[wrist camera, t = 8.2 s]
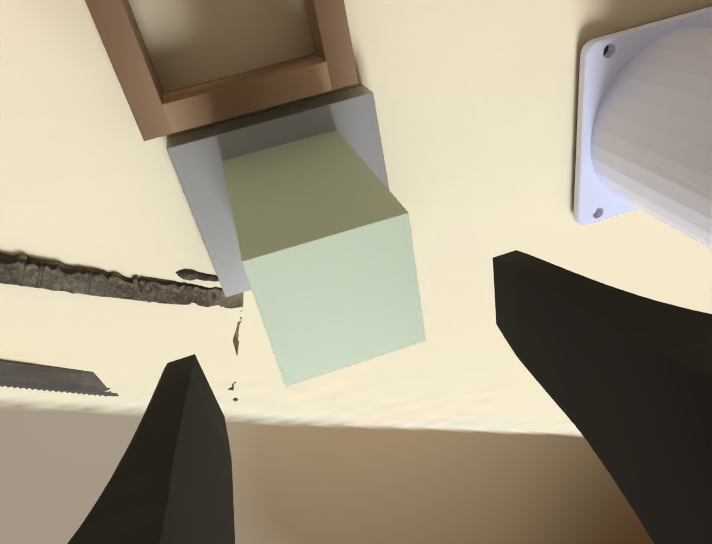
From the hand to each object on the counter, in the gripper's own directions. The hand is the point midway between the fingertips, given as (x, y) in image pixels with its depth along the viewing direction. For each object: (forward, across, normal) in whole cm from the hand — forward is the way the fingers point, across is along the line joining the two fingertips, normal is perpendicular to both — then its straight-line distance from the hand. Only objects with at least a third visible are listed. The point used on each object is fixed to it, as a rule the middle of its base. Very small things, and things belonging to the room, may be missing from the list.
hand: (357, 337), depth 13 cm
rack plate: (+9, 0, 0) cm, 9 cm away
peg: (+8, 0, 0) cm, 8 cm away
